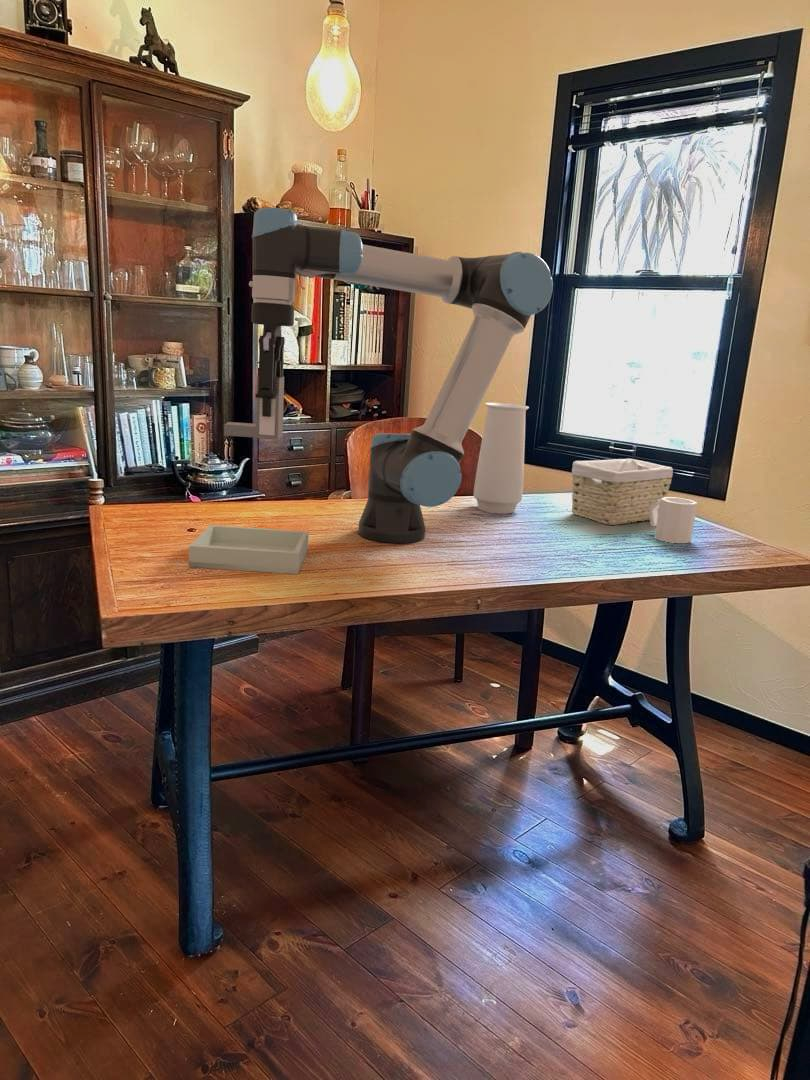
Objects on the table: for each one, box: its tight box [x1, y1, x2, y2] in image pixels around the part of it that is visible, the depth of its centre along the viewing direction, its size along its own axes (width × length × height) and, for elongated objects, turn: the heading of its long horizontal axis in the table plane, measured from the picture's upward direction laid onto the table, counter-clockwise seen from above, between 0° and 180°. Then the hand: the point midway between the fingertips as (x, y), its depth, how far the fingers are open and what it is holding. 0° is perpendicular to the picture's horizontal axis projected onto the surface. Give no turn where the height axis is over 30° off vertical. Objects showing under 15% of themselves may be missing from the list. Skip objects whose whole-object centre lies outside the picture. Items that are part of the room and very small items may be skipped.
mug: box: [649, 496, 698, 544], centre depth 189 cm, size 12×9×10 cm
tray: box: [188, 524, 309, 575], centre depth 149 cm, size 20×16×4 cm
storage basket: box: [571, 458, 674, 526], centre depth 208 cm, size 24×16×15 cm
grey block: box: [223, 376, 285, 441], centre depth 142 cm, size 10×6×11 cm, turn 90°
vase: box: [473, 402, 530, 515], centre depth 204 cm, size 13×13×28 cm
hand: (270, 431), depth 143 cm, fingers closed on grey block, 6 cm apart
